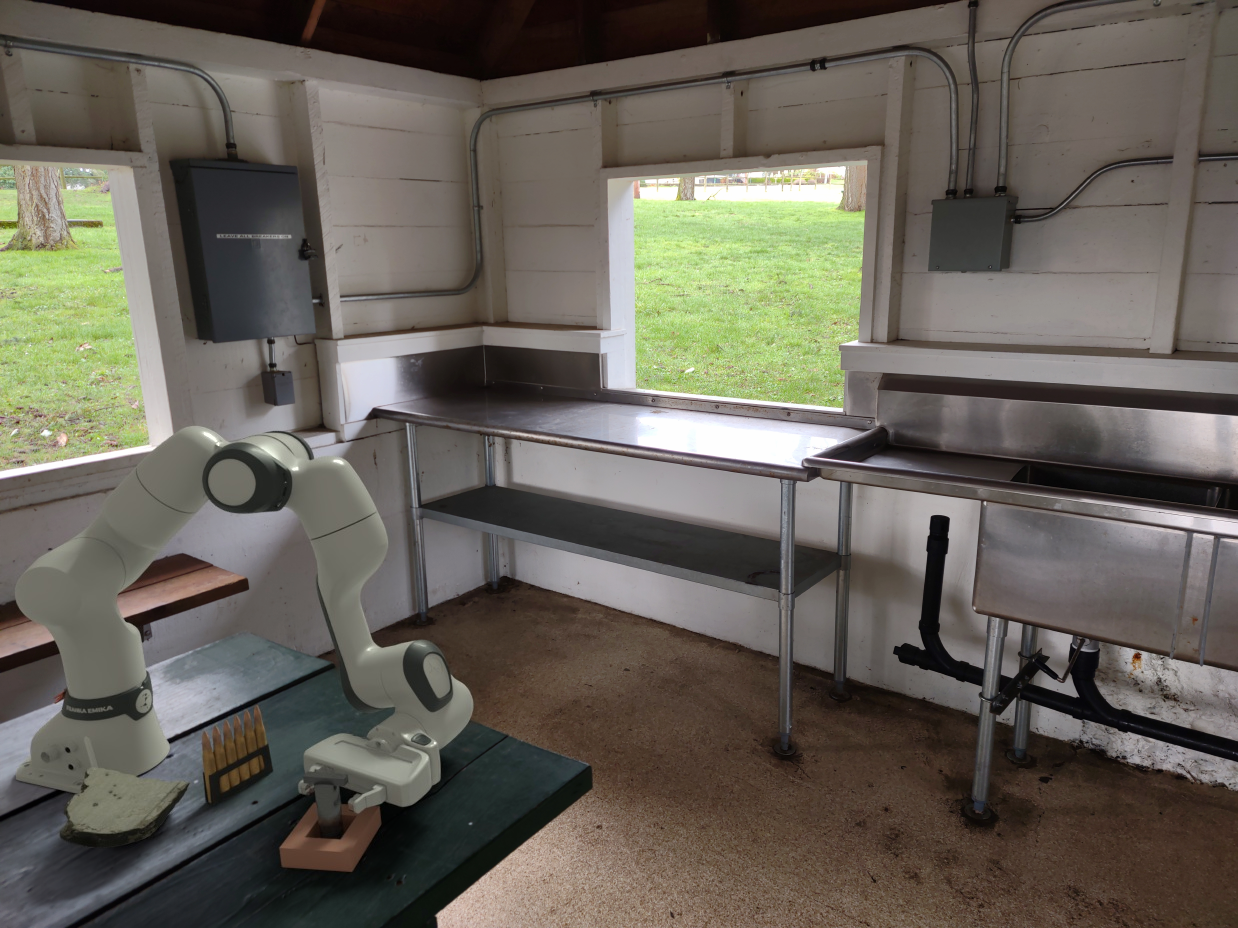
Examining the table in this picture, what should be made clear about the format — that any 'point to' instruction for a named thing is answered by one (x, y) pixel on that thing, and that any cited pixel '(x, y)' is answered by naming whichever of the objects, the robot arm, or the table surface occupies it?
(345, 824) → the orange square frame
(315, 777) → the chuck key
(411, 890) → the table surface
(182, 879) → the table surface
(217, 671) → the table surface
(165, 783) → the concrete fragment
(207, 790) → the ammunition clip
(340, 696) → the table surface
